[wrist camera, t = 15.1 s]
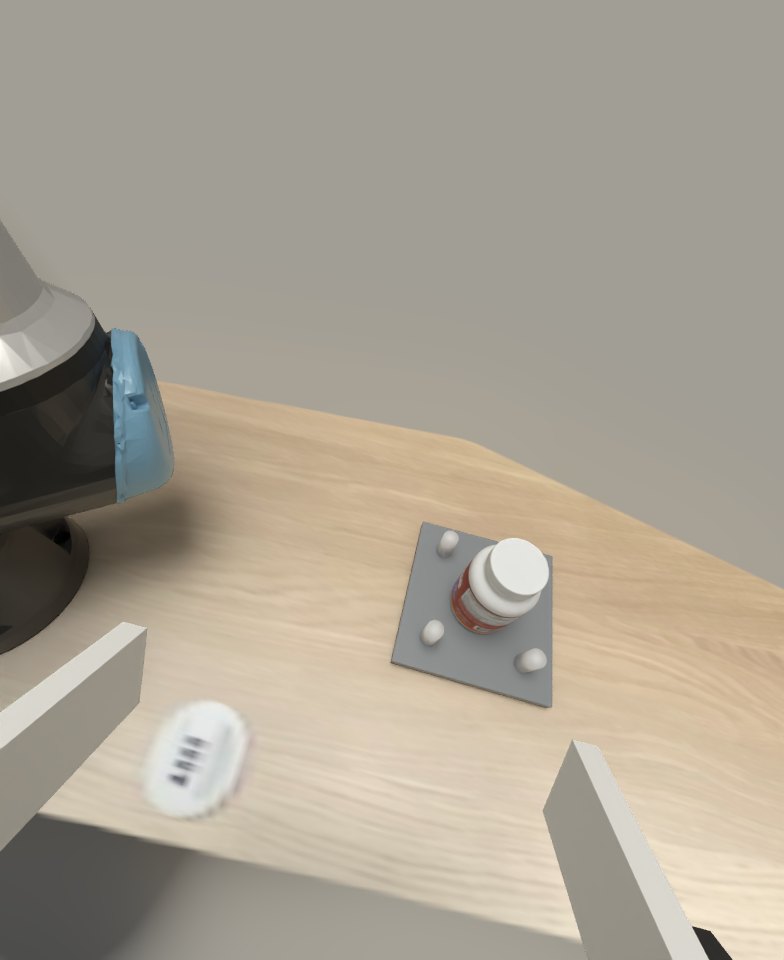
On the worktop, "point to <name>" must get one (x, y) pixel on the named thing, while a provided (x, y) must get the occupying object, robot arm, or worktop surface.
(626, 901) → the robot arm
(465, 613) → the pill bottle
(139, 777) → the worktop surface
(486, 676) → the peg board
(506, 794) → the worktop surface
